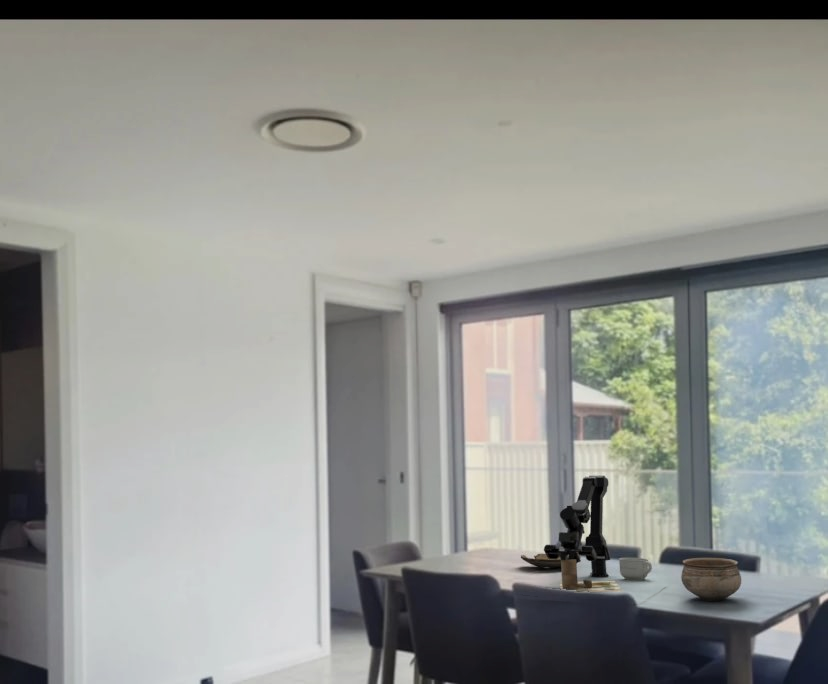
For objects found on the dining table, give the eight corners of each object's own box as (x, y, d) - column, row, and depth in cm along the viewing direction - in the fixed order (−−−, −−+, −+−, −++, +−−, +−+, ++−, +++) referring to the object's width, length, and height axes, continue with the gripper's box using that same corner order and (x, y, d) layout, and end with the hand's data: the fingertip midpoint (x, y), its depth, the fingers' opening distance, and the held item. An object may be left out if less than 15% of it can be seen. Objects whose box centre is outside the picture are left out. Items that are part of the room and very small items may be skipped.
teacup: (614, 579, 312) (613, 557, 313) (638, 576, 316) (636, 555, 317) (636, 584, 299) (635, 562, 300) (660, 581, 303) (659, 559, 304)
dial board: (558, 584, 304) (558, 581, 304) (615, 583, 302) (615, 580, 302) (561, 595, 284) (561, 591, 284) (622, 594, 282) (622, 590, 282)
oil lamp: (509, 567, 347) (508, 549, 348) (562, 560, 363) (561, 542, 364) (542, 574, 328) (541, 555, 329) (597, 566, 344) (596, 547, 344)
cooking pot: (711, 590, 283) (709, 554, 285) (760, 598, 268) (757, 560, 269) (664, 600, 270) (662, 563, 271) (713, 609, 254) (710, 569, 255)
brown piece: (608, 584, 294) (606, 556, 296) (611, 586, 291) (609, 557, 293) (561, 588, 291) (559, 559, 292) (564, 589, 288) (562, 561, 289)
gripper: (543, 522, 302) (534, 558, 292) (591, 523, 293) (583, 560, 282) (553, 540, 308) (544, 575, 298) (600, 542, 299) (592, 578, 288)
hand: (565, 572), depth 291 cm, fingers closed
